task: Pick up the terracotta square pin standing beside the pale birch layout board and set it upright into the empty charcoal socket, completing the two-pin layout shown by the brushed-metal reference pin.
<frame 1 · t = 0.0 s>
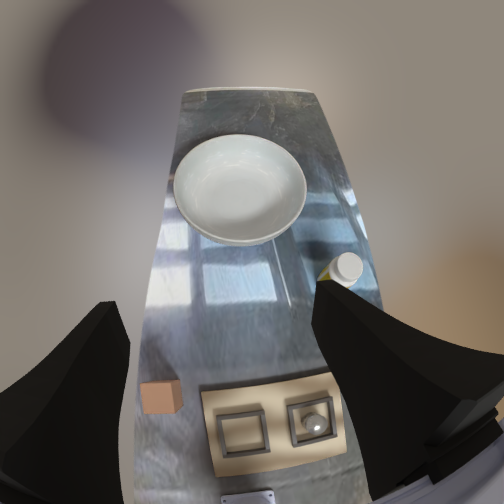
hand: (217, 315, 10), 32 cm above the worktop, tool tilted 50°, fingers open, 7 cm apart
reference pin: (309, 420, 36), resting on layout board
serving bowl: (238, 203, 49), on the worktop
layout board: (276, 426, 36), on the worktop
supplement bottle: (329, 283, 45), on the worktop
pin peg: (168, 393, 36), on the worktop
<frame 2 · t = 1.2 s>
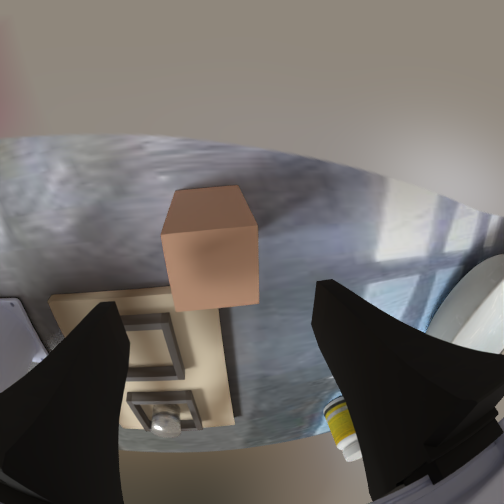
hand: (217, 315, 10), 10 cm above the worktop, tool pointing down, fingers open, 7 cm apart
reference pin: (166, 401, 27), resting on layout board
serving bowl: (459, 306, 29), on the worktop
layout board: (154, 374, 24), on the worktop
supplement bottle: (338, 403, 33), on the worktop
pin peg: (208, 217, 19), on the worktop
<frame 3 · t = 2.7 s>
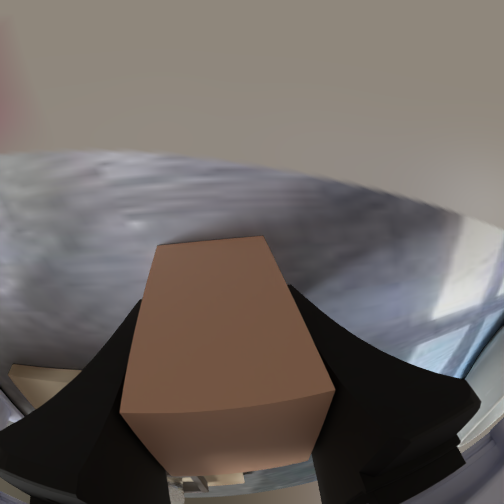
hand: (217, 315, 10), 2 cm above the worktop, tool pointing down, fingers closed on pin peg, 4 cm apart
reference pin: (166, 465, 20), resting on layout board
serving bowl: (495, 344, 22), on the worktop
layout board: (149, 446, 17), on the worktop
pin peg: (214, 285, 11), on the worktop, touching gripper
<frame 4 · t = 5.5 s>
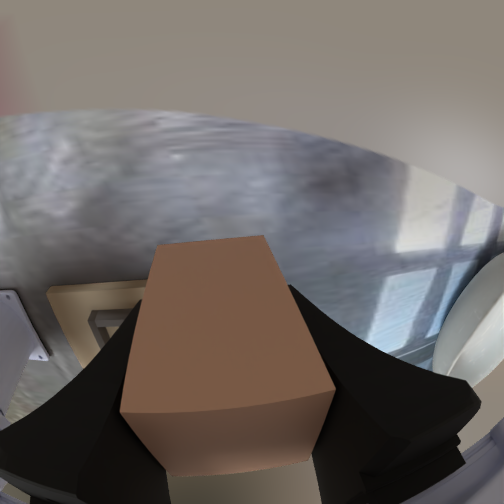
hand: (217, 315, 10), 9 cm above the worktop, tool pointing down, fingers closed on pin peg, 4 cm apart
serving bowl: (472, 302, 28), on the worktop
layout board: (160, 372, 23), on the worktop
pin peg: (214, 285, 11), point 7 cm above the worktop, touching gripper
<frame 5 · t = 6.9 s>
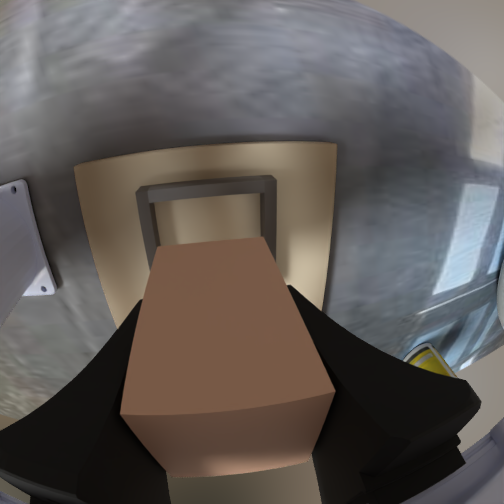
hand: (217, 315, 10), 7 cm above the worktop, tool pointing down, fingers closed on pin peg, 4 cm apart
layout board: (217, 302, 19), on the worktop
supplement bottle: (414, 355, 27), on the worktop
pin peg: (214, 286, 11), point 5 cm above the worktop, touching gripper
when the fingers open (4 cm above the worktop, at t = 8.1 s): pin peg stays where it is, resting on layout board.
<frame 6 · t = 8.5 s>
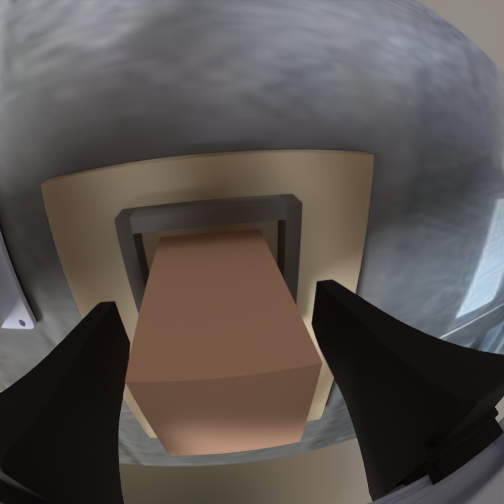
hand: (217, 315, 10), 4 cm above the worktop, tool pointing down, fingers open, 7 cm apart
layout board: (221, 341, 15), on the worktop
pin peg: (213, 276, 12), point 1 cm above the worktop, touching layout board
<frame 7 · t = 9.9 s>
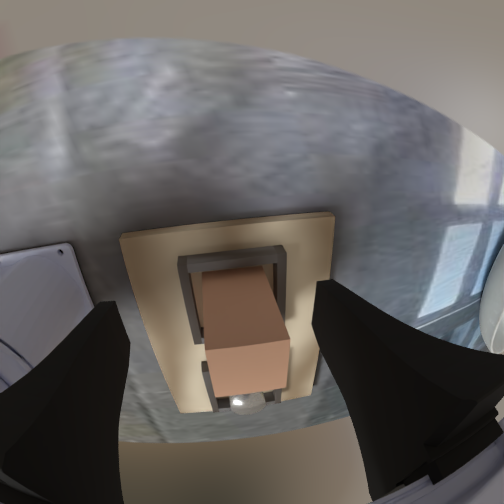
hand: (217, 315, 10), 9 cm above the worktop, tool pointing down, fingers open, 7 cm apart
reference pin: (241, 372, 25), resting on layout board
layout board: (237, 335, 23), on the worktop
pin peg: (234, 293, 20), point 1 cm above the worktop, touching layout board
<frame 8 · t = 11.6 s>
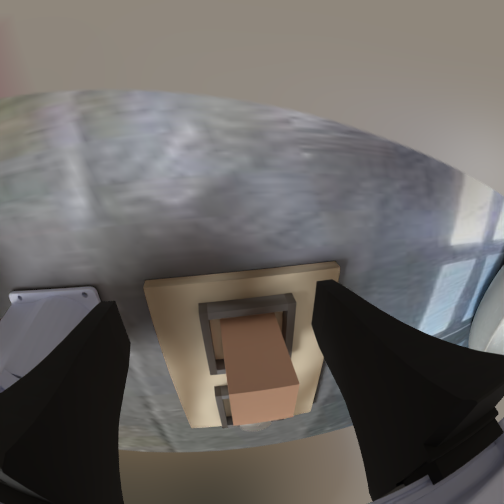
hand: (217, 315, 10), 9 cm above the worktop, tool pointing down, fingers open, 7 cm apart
reference pin: (249, 393, 27), resting on layout board
serving bowl: (496, 290, 29), on the worktop
layout board: (247, 363, 25), on the worktop
pin peg: (247, 332, 22), point 1 cm above the worktop, touching layout board
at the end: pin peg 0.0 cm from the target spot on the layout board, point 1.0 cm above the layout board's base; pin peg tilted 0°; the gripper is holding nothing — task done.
